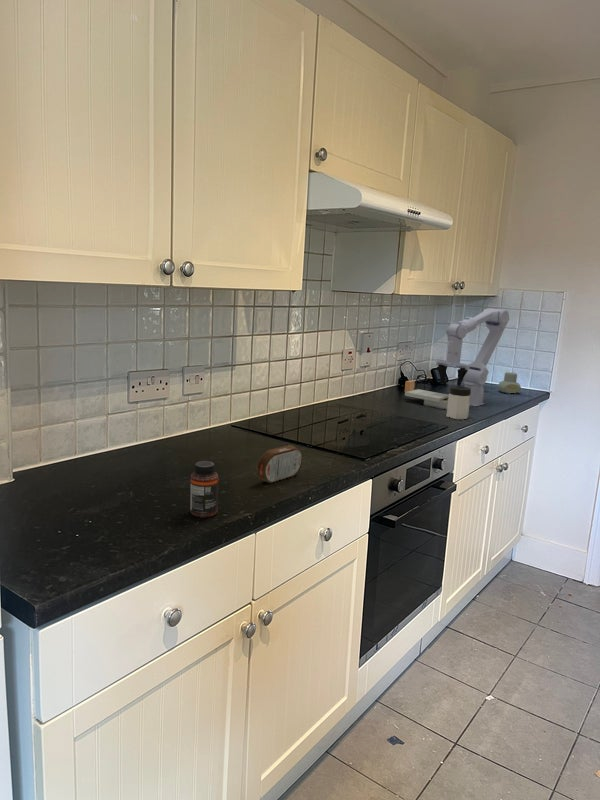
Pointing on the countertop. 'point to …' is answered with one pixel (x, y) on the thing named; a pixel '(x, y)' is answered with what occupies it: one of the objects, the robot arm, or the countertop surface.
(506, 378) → the air freshener
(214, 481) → the supplement bottle
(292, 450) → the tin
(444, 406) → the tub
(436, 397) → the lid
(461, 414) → the jar
